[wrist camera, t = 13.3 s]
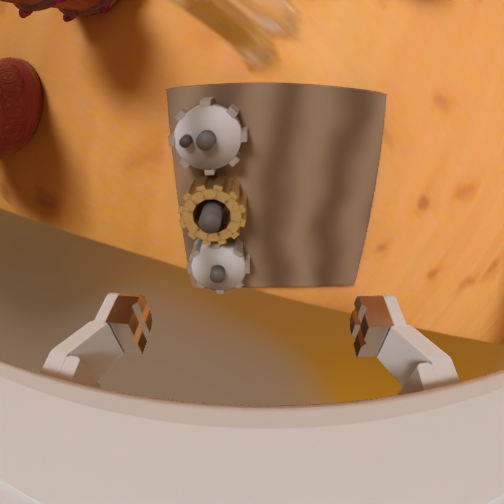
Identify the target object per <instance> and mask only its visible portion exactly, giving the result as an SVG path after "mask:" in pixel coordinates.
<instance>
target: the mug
mask: <svg viewBox="0 0 504 504" xmlns="http://www.w3.org/2000/svg"><path fill="white" fill-rule="evenodd" d="M0 1H4V2H10V3H13V4H14V5H15V6H16V7H17V8H18V9H19V15H20V17H22V18H25V17H27V16H29V15H30V14H31V13H32V12H33V11H40V10H44V9H48V8H51V7H53V8H58V9H59V10H60V11H61V12H62V13H63V14H64V15H63V20H64V21H65V22H69V21H71V20H73V19H74V18H75V17H76V16H88V15H92V14H95V13H99V12H101V13H105V12H107V11H108V10H109V9H110V8H111V6H112V5H113V4H114V3H115V2H116V1H117V0H0Z"/></svg>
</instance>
